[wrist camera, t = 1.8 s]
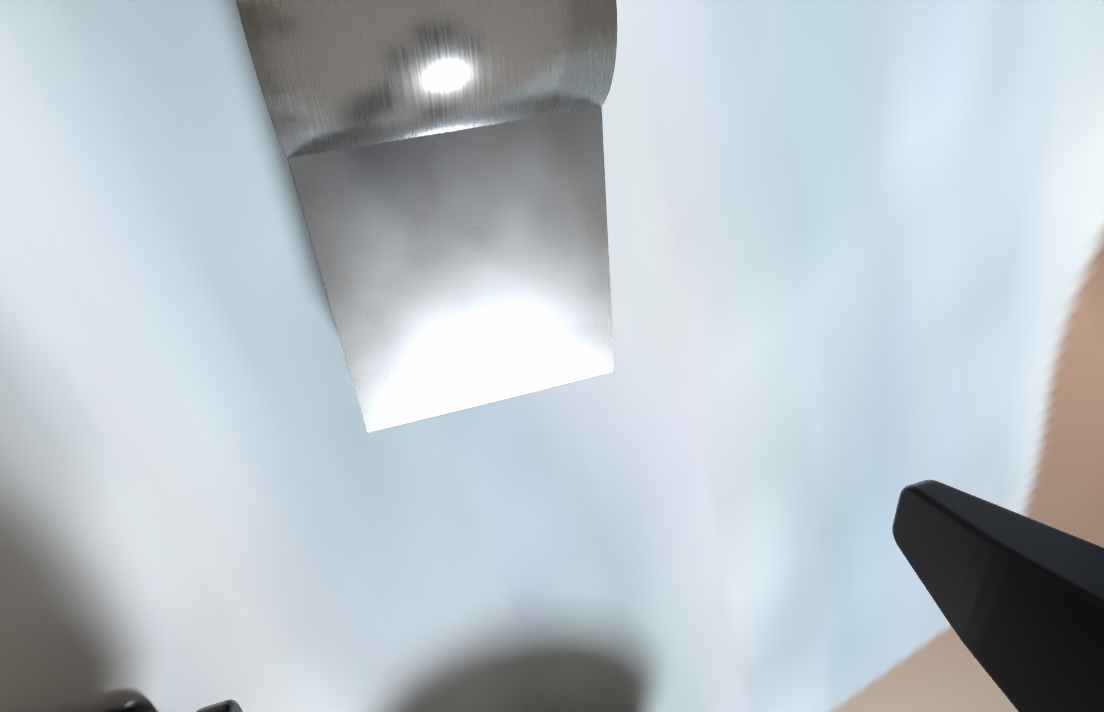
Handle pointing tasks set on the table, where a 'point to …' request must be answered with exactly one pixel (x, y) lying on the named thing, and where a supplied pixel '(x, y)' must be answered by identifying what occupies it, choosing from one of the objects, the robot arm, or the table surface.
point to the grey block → (449, 188)
